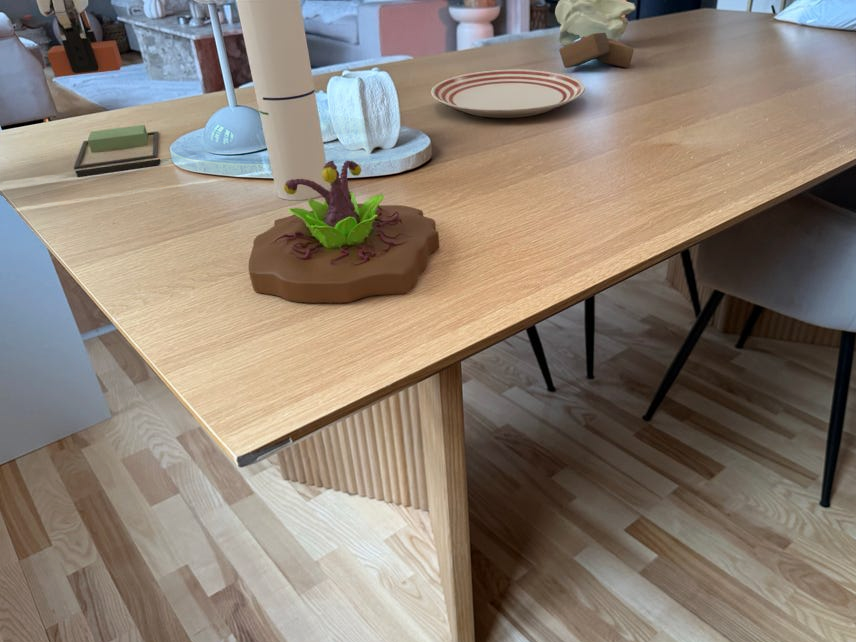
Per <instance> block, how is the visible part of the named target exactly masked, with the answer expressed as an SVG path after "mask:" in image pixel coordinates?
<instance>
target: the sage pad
mask: <svg viewBox="0 0 856 642" xmlns="http://www.w3.org/2000/svg"><path fill="white" fill-rule="evenodd" d="M147 133H148V131H147V128H146V124H140V125H132V126H123V127H116V128H115V127H114V128H107V129H100V130H99V129H98V130H94V131H90V132H89V136H88V139H87V141H88V146H89V149H90V152H91V153H99V152H100V153H101V152H106V151H114V150H123V149H128V148H137V147H144V146H148V140H149V136H148V134H147Z"/></svg>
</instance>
